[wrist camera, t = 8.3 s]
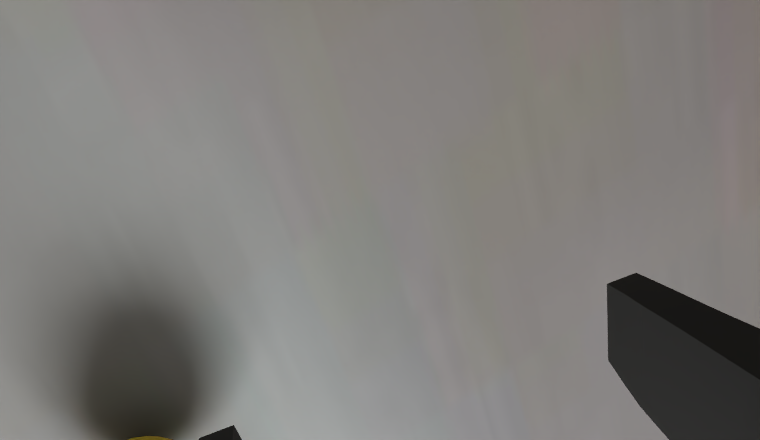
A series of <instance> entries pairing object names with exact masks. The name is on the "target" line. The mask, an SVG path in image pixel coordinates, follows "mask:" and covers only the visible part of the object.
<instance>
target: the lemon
mask: <svg viewBox="0 0 760 440" xmlns="http://www.w3.org/2000/svg"><path fill="white" fill-rule="evenodd" d="M127 440H172V439H168V438H164V437H159V436H143V437H135V438H131V439H127Z"/></svg>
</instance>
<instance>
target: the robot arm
mask: <svg viewBox="0 0 760 440" xmlns="http://www.w3.org/2000/svg"><path fill="white" fill-rule="evenodd" d="M607 311H608V360H609V362H610V363H611V365H612V366H613V368H614V369H615V371H616V372H617V374H618V375H619V377H620V378H621V380H622V381H623V383H624V384H625V386H626V387H627V388H628V390H629V391H630V393H631V394H632V395H633V397H634V398H635V400H636V401H637V403H638V404H639V405H640V407H641V408H642V409H643V410H644V411H645V412H646V414H647V415H648V416H649V417H650V418H651V419H652V421H653V422H654V423H655V424H656V425H657V426H658V427H659V429H660V430H661V431H662V432H663V433H664V434H665V435H666V437H667V438H668V439H669V440H760V329H759V328H757V327H754V326H752V325H750V324H748V323H745V322H743V321H741V320H738V319H736V318H734V317H732V316H729V315H727V314H725V313H723V312H721V311H718V310H716V309H714V308H712V307H710V306H707V305H705V304H703V303H701V302H699V301H697V300H694V299H692V298H690V297H688V296H686V295H684V294H681V293H679V292H677V291H675V290H673V289H671V288H668V287H666V286H664V285H662V284H660V283H658V282H655V281H653V280H651V279H649V278H647V277H644V276H642V275H640V274H637V273H635V274H632V275H629V276H627V277H624V278H621V279H619V280H616V281H614V282H611V283H608V284H607ZM199 440H242V439H241V437H240V436H239V434H238V432H237V430H236V428H235V426H234V425H233V426H230V427H227V428H225V429H222V430H220V431H217V432H214V433H212V434H209V435H206V436H204V437H201V438H199Z"/></svg>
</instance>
